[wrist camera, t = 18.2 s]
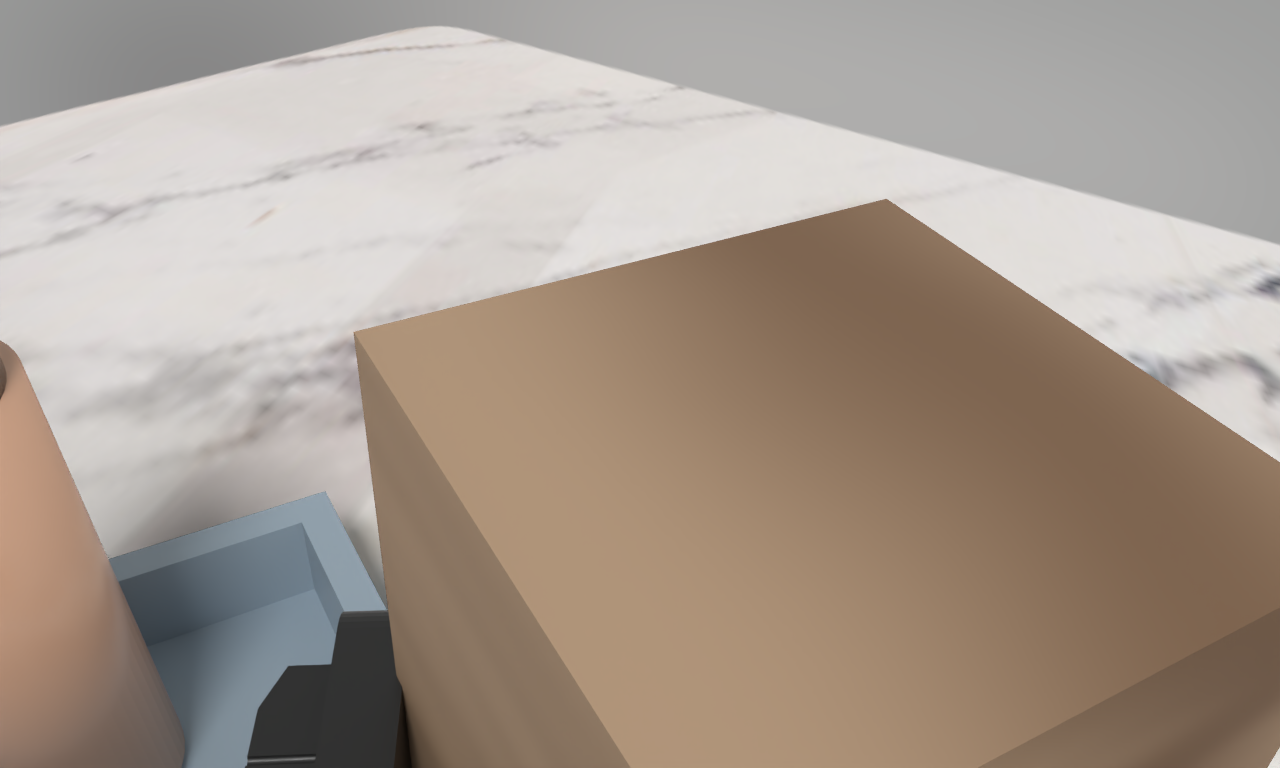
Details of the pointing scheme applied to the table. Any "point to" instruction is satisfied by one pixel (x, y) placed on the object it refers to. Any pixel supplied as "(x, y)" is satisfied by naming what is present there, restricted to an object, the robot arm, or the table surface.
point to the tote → (242, 615)
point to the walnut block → (812, 523)
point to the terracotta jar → (66, 617)
